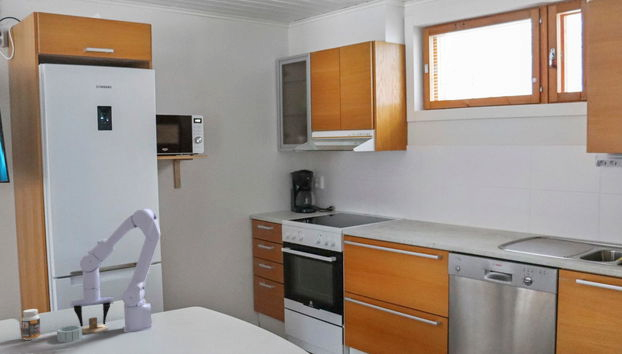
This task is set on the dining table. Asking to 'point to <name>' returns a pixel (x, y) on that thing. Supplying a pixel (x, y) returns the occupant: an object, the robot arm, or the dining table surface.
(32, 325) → the pill bottle
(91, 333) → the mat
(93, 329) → the lid
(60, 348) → the dining table surface
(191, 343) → the dining table surface
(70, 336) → the bowl
